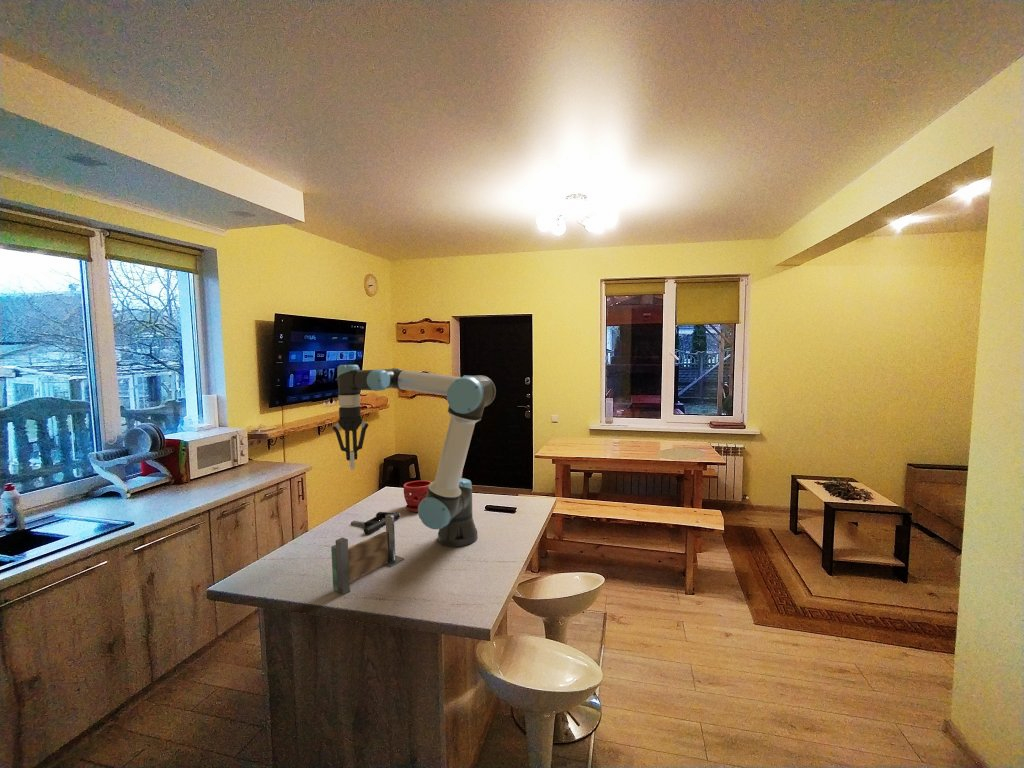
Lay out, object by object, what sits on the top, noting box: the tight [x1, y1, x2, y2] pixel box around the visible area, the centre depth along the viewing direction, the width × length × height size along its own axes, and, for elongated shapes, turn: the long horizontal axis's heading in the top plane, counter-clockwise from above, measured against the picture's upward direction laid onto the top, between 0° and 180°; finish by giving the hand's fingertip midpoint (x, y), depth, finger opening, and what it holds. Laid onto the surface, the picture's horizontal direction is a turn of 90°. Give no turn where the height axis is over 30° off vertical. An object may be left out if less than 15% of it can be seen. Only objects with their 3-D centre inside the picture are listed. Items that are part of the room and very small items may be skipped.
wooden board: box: [330, 531, 388, 592], centre depth 137 cm, size 20×2×13 cm, turn 148°
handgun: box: [350, 511, 401, 536], centre depth 182 cm, size 3×20×16 cm
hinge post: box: [382, 514, 405, 568], centre depth 147 cm, size 6×6×16 cm
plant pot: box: [403, 479, 432, 513], centre depth 199 cm, size 13×13×12 cm
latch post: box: [335, 537, 351, 596], centre depth 128 cm, size 2×2×16 cm
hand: (352, 468), depth 162 cm, fingers closed
